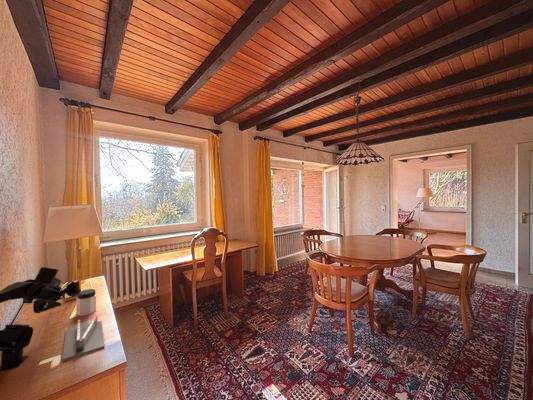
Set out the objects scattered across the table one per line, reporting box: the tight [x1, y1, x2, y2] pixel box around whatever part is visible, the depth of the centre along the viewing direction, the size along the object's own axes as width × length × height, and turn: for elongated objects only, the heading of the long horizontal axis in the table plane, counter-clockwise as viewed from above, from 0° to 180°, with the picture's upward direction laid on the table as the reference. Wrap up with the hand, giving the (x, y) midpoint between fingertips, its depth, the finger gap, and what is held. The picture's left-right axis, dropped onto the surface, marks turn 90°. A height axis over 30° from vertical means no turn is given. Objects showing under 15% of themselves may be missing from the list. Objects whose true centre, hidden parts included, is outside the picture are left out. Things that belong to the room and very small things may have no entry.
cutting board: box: [61, 320, 106, 363], centre depth 105 cm, size 26×14×1 cm, turn 39°
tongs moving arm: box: [82, 315, 98, 346], centre depth 108 cm, size 20×1×4 cm, turn 24°
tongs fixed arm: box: [76, 319, 84, 352], centre depth 105 cm, size 23×3×4 cm, turn 39°
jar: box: [76, 288, 97, 317], centre depth 130 cm, size 9×8×12 cm
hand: (70, 299), depth 114 cm, fingers open, 9 cm apart
